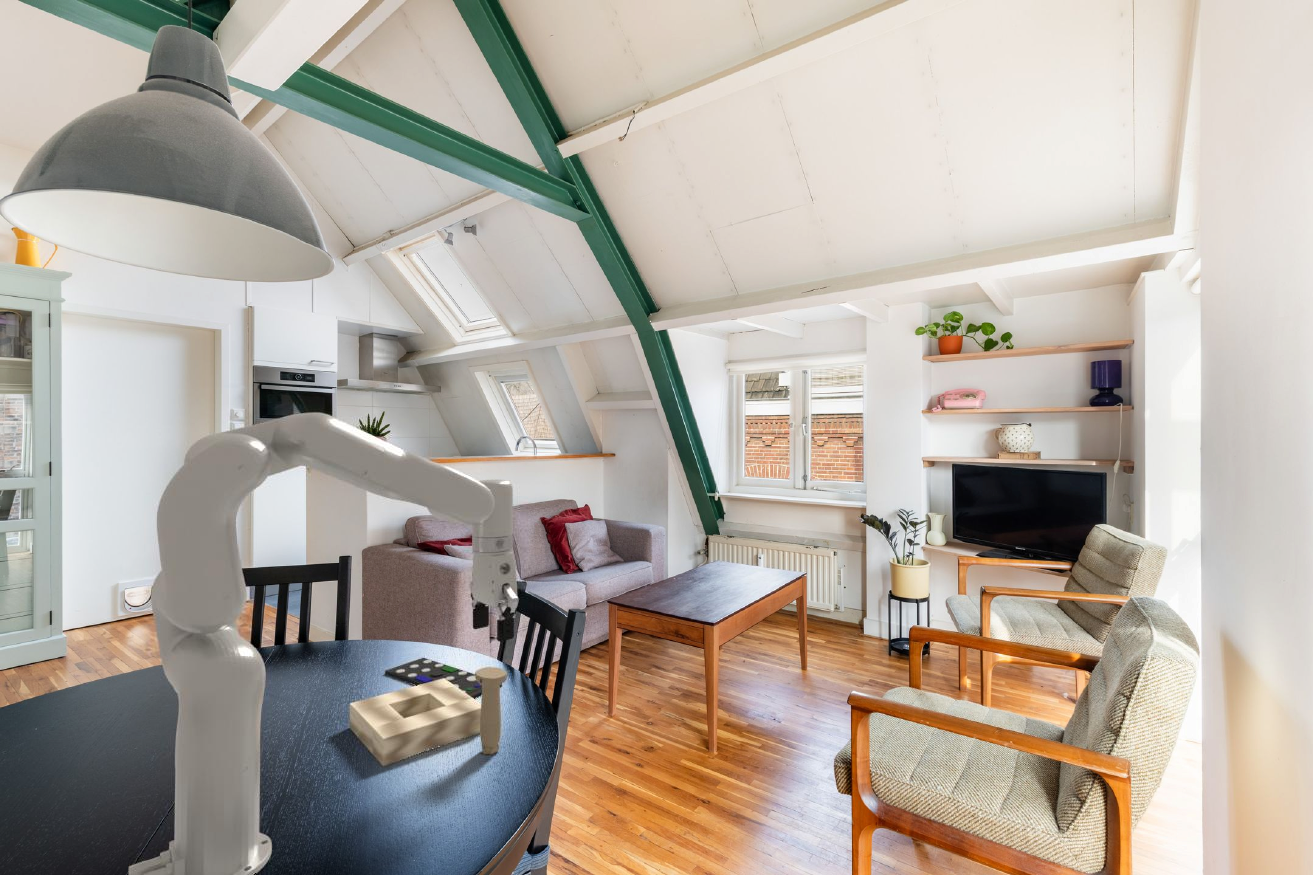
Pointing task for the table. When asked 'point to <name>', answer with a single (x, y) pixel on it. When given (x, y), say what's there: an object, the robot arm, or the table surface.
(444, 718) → the socket block
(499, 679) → the handle
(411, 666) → the remote control
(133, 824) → the table surface
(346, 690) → the table surface
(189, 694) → the robot arm
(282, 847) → the table surface
